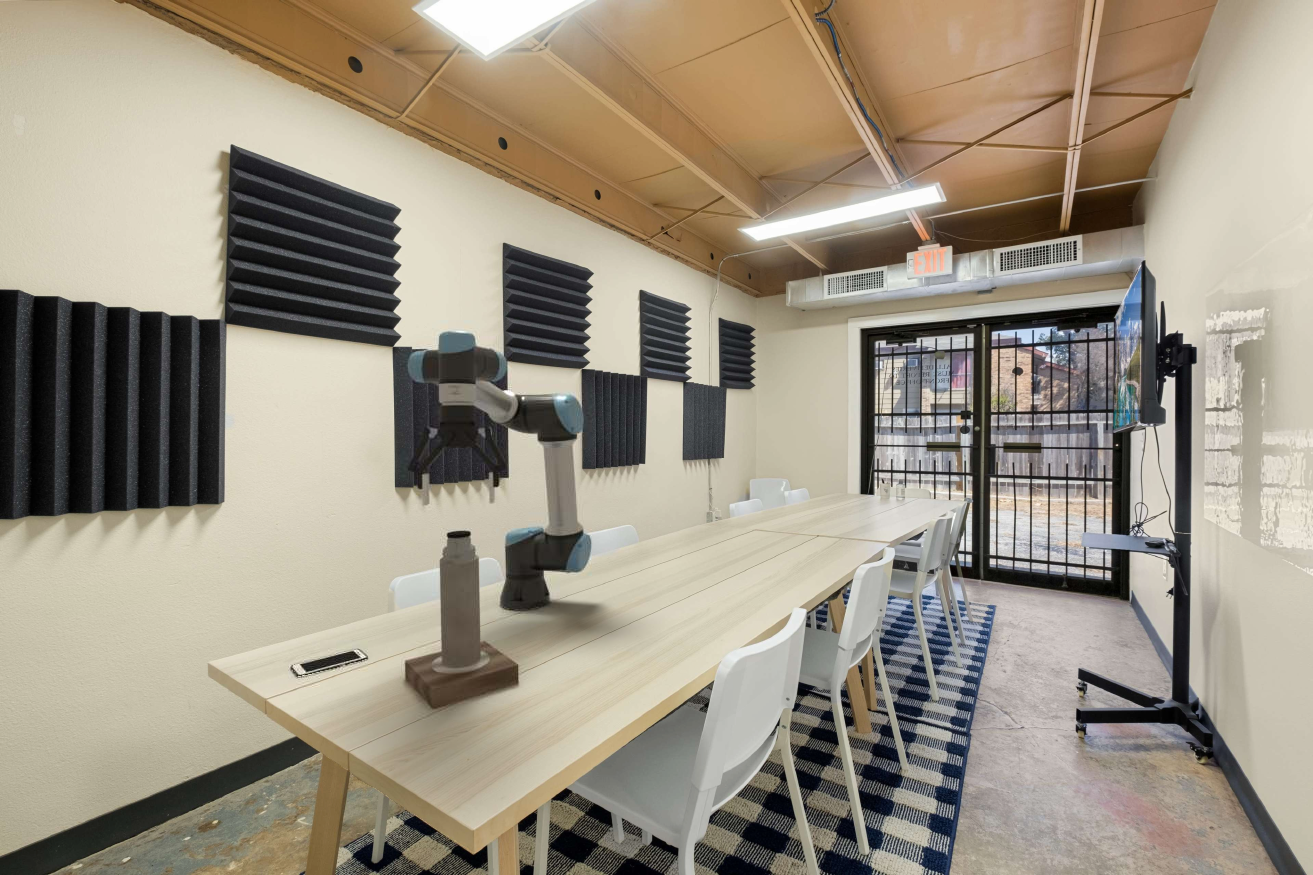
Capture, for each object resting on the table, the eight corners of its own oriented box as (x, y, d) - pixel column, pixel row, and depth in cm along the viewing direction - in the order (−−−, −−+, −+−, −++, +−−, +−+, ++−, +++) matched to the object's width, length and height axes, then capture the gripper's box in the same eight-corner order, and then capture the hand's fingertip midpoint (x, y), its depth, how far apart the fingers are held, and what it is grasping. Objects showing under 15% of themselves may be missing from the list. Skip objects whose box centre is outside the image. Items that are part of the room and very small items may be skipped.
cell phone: (289, 669, 133) (289, 665, 133) (358, 651, 143) (358, 647, 143) (298, 680, 127) (297, 675, 127) (369, 660, 137) (369, 656, 137)
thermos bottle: (452, 652, 129) (449, 528, 129) (486, 653, 129) (484, 528, 128) (434, 667, 122) (432, 535, 121) (471, 669, 121) (468, 535, 120)
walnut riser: (405, 678, 126) (404, 659, 126) (484, 657, 138) (484, 639, 138) (432, 709, 112) (432, 687, 112) (518, 682, 124) (518, 663, 124)
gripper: (391, 404, 118) (392, 507, 119) (516, 404, 122) (517, 504, 123) (401, 405, 126) (402, 502, 126) (518, 405, 130) (520, 499, 130)
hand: (459, 503), depth 125 cm, fingers open, 13 cm apart
